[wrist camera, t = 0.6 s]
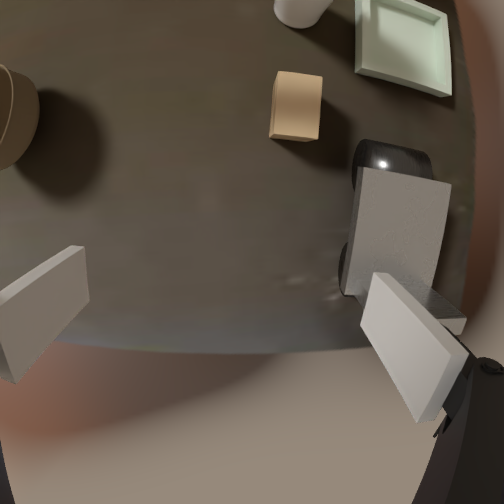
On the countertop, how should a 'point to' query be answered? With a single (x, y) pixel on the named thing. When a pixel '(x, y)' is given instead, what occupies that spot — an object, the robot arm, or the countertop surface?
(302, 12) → the drinking glass
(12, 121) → the bowl
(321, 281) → the countertop surface
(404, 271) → the grey toy cart
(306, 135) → the wooden block
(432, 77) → the tray
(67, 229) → the countertop surface
